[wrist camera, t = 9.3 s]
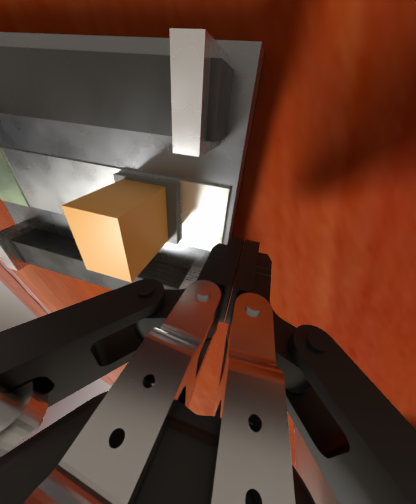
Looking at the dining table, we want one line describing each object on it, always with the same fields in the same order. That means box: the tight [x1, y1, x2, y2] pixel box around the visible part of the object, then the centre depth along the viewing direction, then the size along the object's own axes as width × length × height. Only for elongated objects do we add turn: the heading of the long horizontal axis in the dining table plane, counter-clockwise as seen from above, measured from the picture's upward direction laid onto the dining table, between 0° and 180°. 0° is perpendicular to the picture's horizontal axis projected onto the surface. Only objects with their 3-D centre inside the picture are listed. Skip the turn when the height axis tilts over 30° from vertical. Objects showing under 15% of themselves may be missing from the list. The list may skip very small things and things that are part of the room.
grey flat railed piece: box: [0, 28, 265, 290], centre depth 15 cm, size 22×17×5 cm
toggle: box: [61, 172, 180, 283], centre depth 12 cm, size 4×4×5 cm
